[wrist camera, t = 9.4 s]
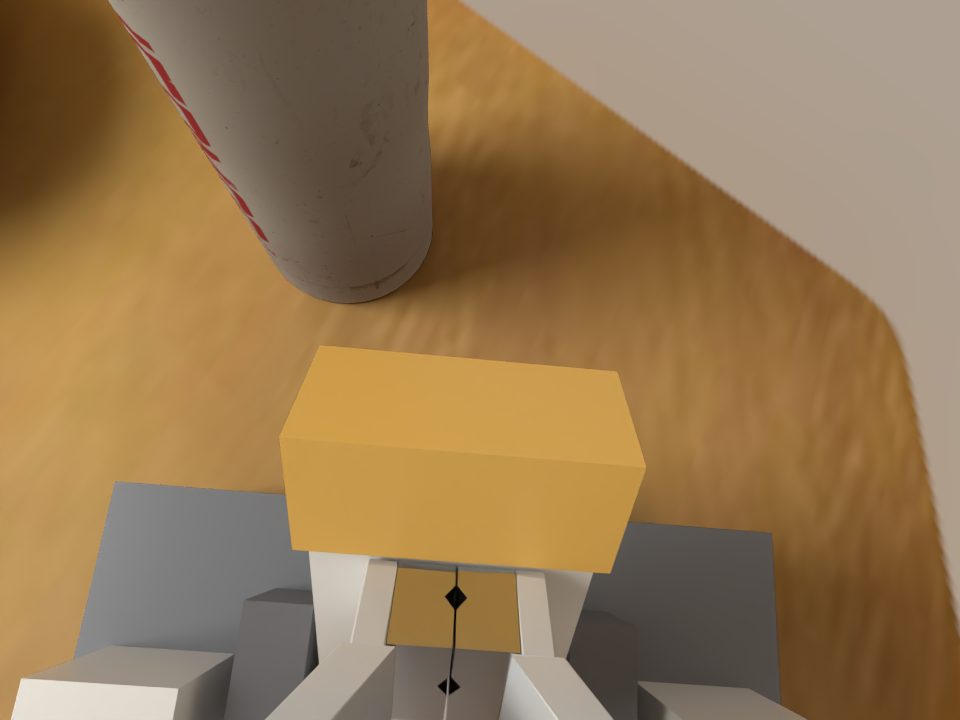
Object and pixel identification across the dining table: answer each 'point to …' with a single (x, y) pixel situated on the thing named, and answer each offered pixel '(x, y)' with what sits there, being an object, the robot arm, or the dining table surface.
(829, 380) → the dining table surface
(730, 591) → the breaker block
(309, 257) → the thermos bottle
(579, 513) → the breaker lever
